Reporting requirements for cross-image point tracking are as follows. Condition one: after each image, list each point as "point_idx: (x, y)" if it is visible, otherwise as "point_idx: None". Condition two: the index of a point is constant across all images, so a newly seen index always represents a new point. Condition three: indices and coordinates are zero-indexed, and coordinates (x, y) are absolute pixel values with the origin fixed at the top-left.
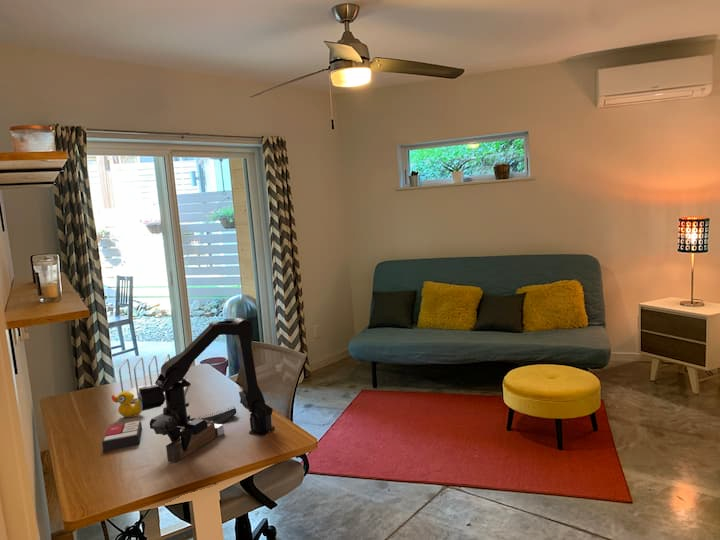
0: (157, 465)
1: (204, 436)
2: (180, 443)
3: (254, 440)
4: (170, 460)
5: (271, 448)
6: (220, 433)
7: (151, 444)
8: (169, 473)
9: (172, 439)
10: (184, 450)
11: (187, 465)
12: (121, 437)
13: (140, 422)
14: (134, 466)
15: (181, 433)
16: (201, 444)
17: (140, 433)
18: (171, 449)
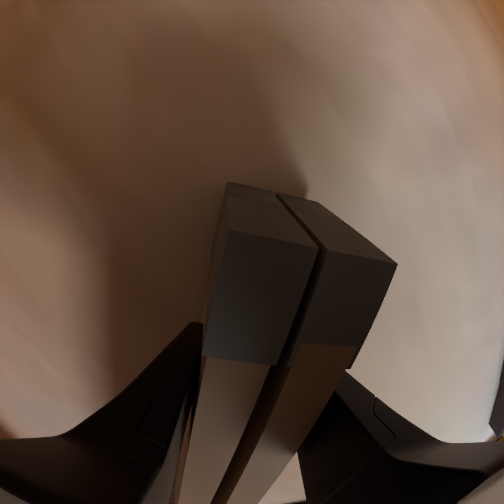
0: (376, 142)
1: (178, 473)
2: (201, 370)
3: (8, 425)
4: (286, 195)
5: None
6: None
7: (469, 374)
8: (179, 16)
9: (355, 411)
10: (187, 326)
11: (92, 165)
12: None
13: (500, 435)
14: (498, 144)
15: (10, 500)
16: None
17: (500, 404)
18: (276, 224)
